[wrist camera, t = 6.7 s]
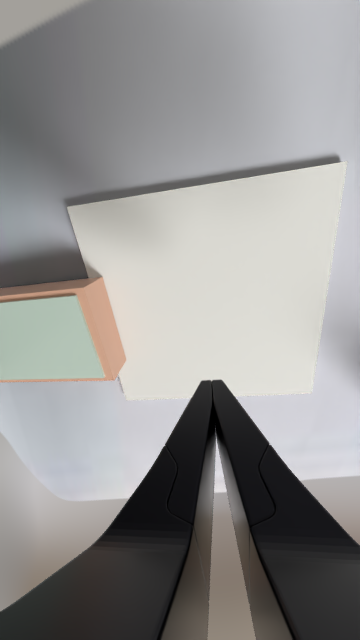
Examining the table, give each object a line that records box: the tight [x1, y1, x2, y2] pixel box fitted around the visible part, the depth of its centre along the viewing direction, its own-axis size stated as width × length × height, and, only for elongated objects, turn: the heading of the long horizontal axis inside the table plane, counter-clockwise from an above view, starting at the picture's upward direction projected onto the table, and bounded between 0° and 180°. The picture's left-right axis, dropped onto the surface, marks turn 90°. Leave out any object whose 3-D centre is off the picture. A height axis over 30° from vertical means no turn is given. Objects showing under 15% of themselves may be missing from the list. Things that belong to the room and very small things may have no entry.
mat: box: [67, 161, 347, 401], centre depth 16 cm, size 16×16×1 cm
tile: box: [0, 277, 126, 382], centre depth 16 cm, size 3×7×10 cm
